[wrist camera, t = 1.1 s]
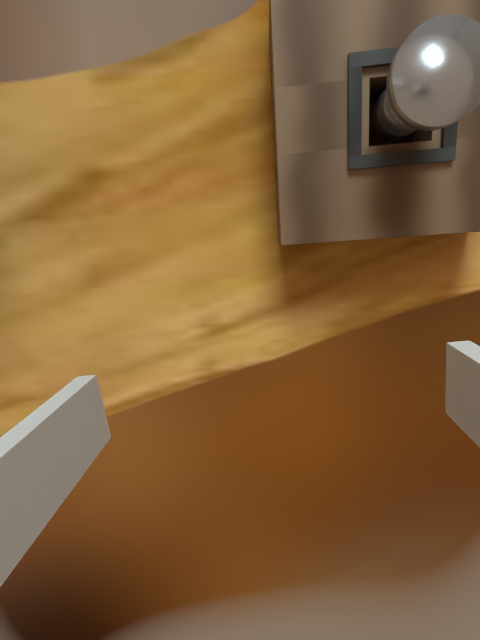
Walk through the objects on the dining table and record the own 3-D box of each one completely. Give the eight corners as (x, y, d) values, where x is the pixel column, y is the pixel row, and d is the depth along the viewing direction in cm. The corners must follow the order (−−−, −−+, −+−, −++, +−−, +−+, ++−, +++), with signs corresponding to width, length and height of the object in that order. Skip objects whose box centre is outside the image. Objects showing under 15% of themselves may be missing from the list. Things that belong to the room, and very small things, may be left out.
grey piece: (358, 156, 31) (391, 130, 23) (359, 77, 30) (394, 20, 21) (431, 149, 30) (490, 121, 22) (435, 69, 29) (500, 7, 21)
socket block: (278, 242, 40) (281, 245, 32) (269, 32, 35) (269, -28, 27) (468, 228, 38) (523, 228, 30) (485, 6, 33) (557, -67, 25)
